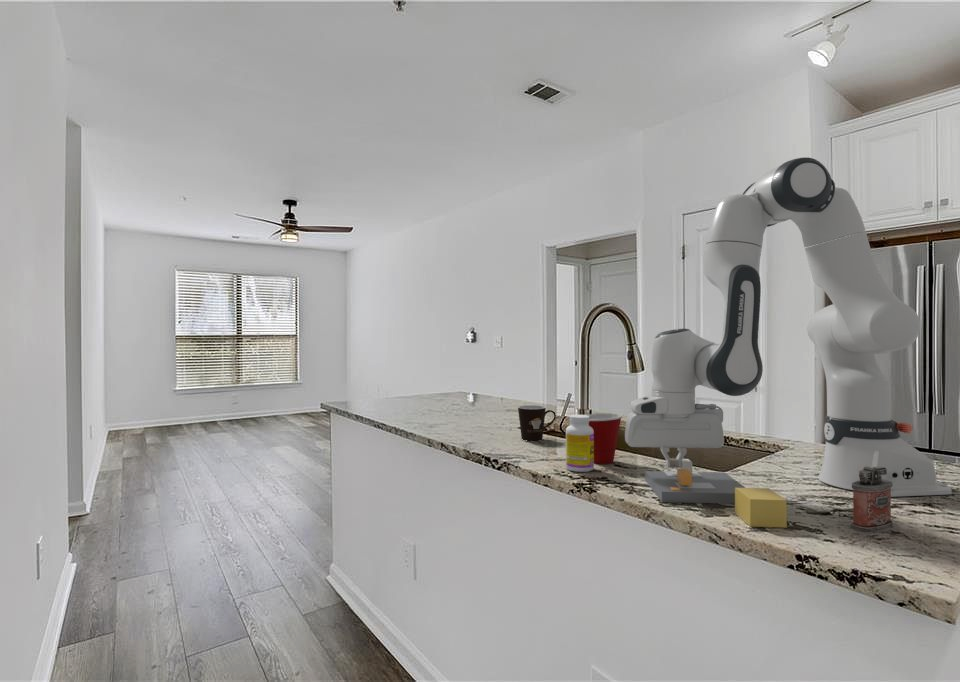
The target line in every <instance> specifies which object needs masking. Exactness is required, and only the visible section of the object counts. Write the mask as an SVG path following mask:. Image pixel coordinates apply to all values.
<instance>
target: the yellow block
mask: <svg viewBox="0 0 960 682" xmlns="http://www.w3.org/2000/svg"><path fill="white" fill-rule="evenodd" d="M787 502H788V501H787V499H785V498H784V497H783V496H781V495H780V494H778V493H777V492H775V491H773V490H772V489H771V488H768V487H767V488H764V487H745V488H735V504H734V514H736V515H737V516H738V518H740V519H741V520H742V521H743V520H744V522H745V523H746V524H747V525H748V526H749V527H754V528H757V527H761V528H784V529H785V528H788V523H787V521H788V520H787V519H788V517H787V515H788V513H787V512H788V511H787V510H788V509H787V508H788V507H787V506H788V505H787Z"/></svg>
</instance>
